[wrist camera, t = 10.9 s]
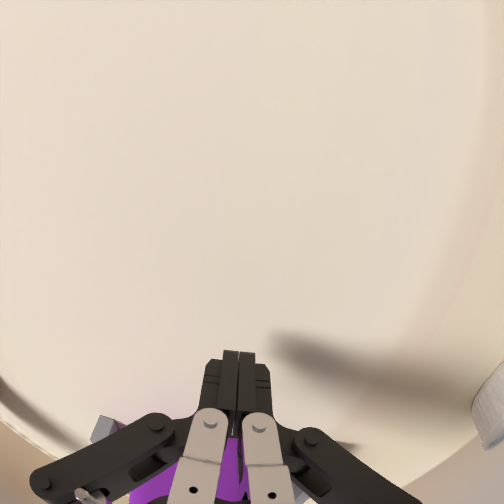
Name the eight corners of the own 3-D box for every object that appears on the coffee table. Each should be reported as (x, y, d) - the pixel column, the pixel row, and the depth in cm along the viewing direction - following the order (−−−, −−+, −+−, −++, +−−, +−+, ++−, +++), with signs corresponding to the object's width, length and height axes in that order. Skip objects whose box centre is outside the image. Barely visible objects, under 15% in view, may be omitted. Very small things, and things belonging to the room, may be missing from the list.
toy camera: (176, 478, 24) (166, 543, 15) (127, 420, 19) (99, 512, 10) (264, 479, 24) (267, 549, 15) (248, 423, 19) (249, 535, 10)
